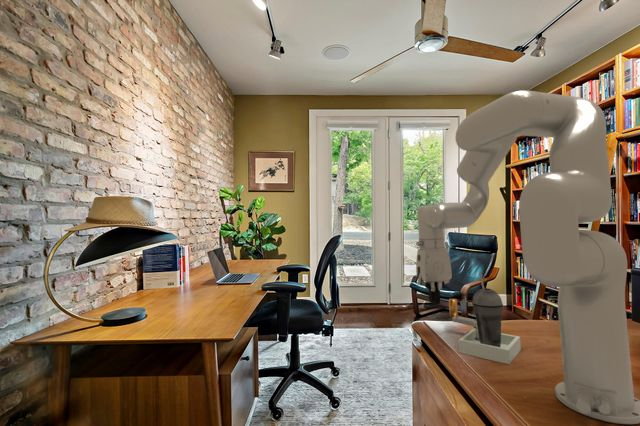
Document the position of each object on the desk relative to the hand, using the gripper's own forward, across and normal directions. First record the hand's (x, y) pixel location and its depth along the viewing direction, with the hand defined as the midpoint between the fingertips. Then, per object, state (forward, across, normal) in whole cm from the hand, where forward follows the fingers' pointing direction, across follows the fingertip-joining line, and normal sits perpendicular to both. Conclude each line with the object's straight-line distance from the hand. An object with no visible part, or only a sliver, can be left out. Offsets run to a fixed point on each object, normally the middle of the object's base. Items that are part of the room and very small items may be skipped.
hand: (434, 302), depth 97 cm
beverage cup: (+8, +4, -17) cm, 19 cm away
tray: (+9, +4, -17) cm, 20 cm away
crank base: (+9, +9, -9) cm, 16 cm away
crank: (+6, +8, -6) cm, 12 cm away
